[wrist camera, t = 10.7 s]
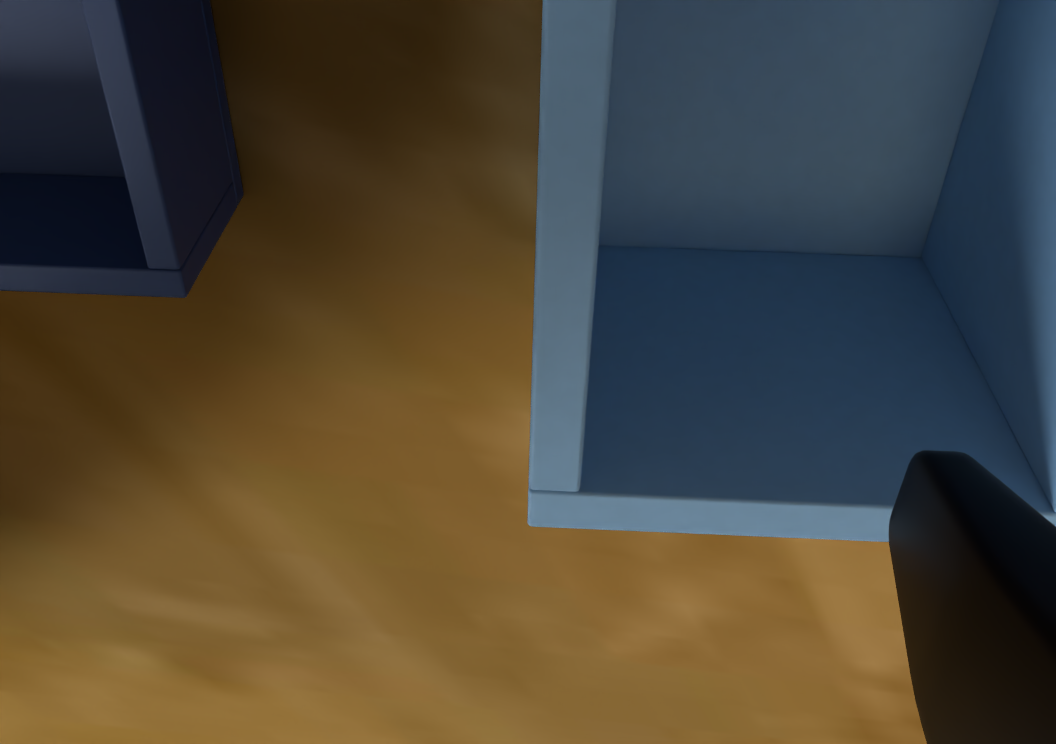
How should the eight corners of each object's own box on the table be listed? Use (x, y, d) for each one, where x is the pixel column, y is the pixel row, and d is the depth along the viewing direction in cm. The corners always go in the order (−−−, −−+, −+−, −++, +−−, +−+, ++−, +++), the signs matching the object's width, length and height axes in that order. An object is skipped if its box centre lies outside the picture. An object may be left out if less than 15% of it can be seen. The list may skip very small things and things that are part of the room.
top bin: (941, 277, 22) (1087, 552, 16) (541, 262, 22) (527, 527, 16) (1161, -401, 15) (1604, -400, 8) (564, -417, 15) (554, -428, 8)
